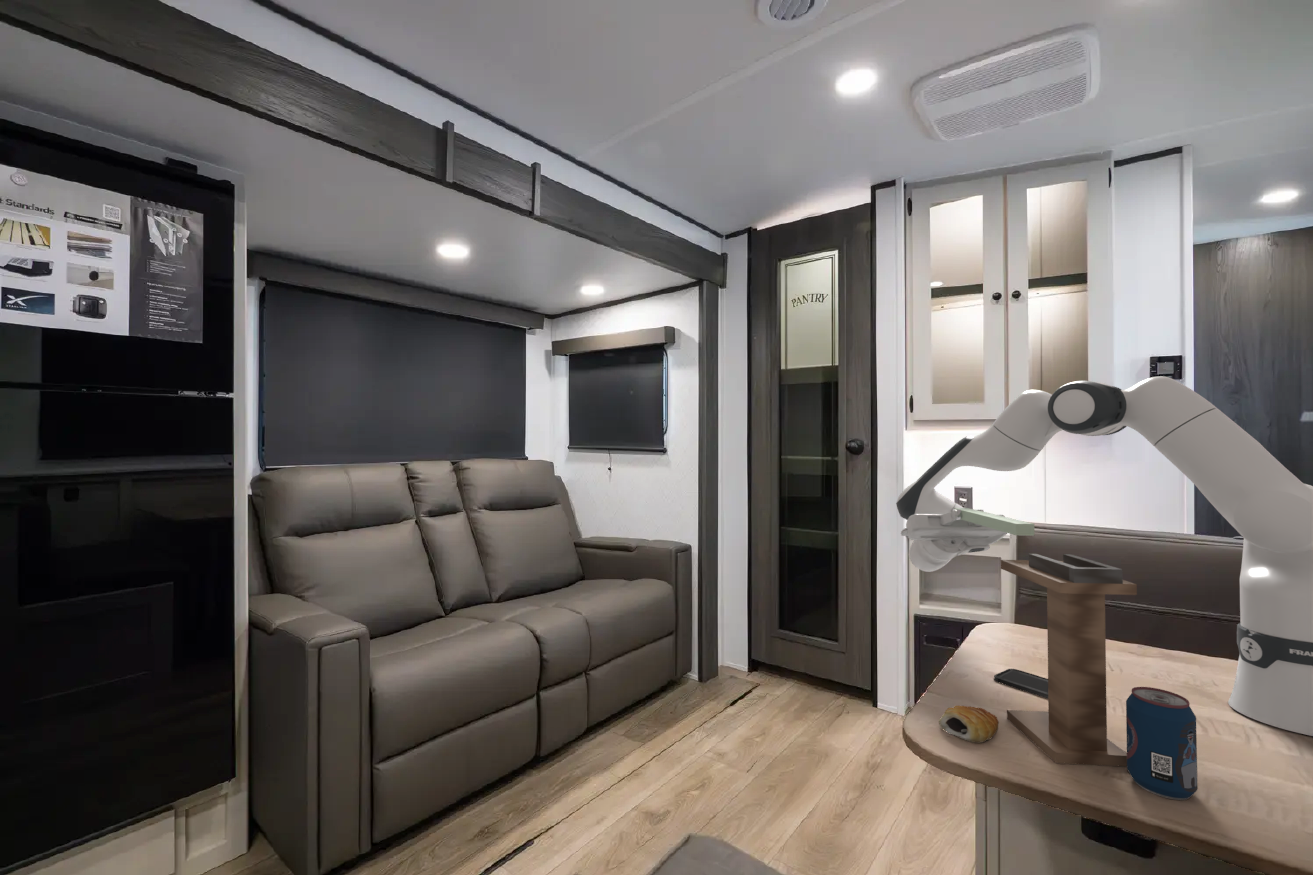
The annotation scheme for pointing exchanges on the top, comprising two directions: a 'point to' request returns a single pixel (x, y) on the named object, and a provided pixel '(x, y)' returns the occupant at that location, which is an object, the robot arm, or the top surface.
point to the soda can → (1161, 743)
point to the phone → (1024, 681)
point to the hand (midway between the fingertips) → (969, 512)
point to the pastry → (969, 723)
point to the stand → (1073, 659)
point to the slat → (998, 522)
